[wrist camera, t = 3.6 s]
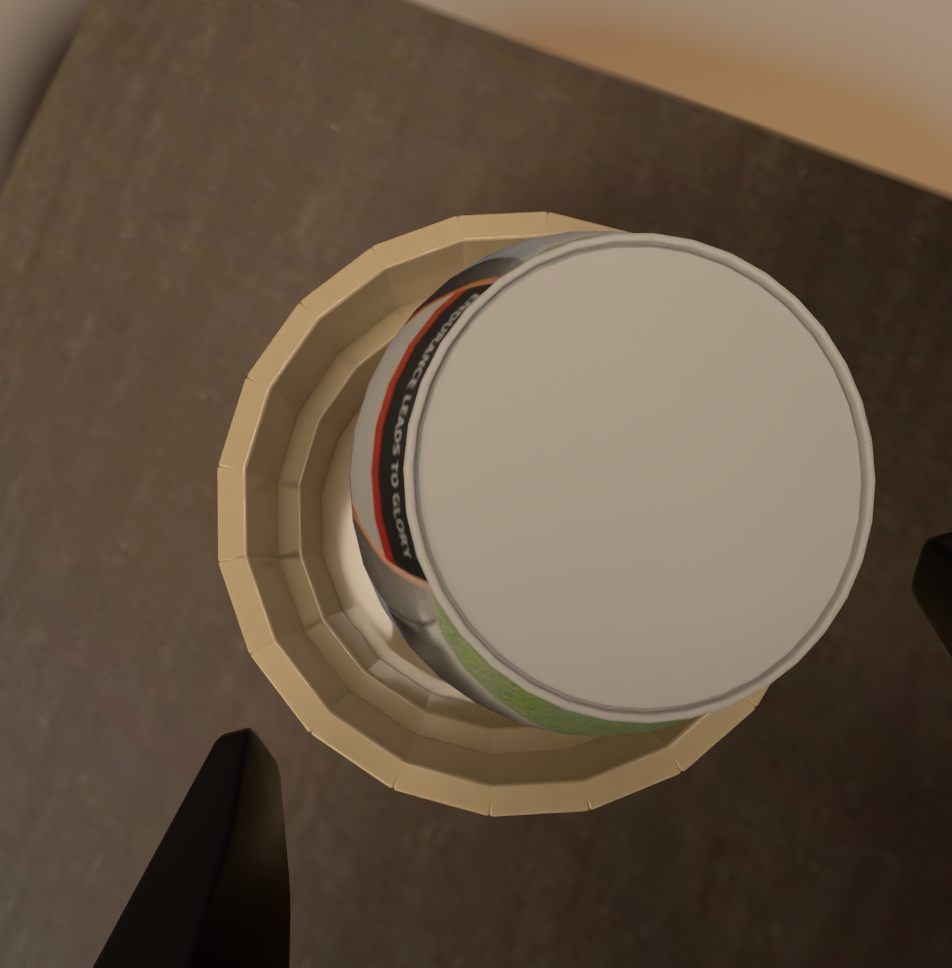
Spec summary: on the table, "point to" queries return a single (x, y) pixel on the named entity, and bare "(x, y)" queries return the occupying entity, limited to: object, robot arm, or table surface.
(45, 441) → the table surface
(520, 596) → the beverage can
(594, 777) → the bowl
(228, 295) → the table surface
